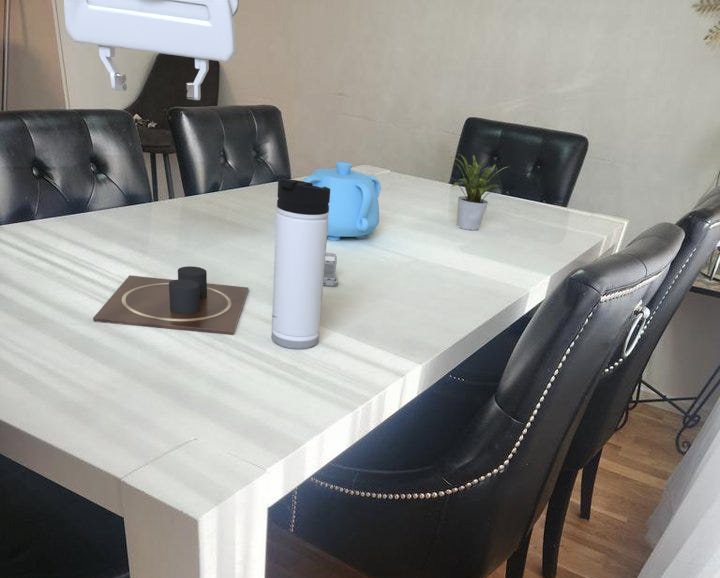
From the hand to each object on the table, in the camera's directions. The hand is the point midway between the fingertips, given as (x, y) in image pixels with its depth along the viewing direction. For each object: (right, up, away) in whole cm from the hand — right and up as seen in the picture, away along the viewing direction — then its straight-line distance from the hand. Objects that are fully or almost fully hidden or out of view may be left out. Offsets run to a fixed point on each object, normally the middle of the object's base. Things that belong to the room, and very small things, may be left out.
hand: (156, 94), depth 83 cm
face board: (0, -25, +9) cm, 26 cm away
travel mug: (+17, -31, +3) cm, 36 cm away
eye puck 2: (+2, -26, +6) cm, 27 cm away
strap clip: (+21, -16, +26) cm, 37 cm away
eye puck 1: (+2, -23, +11) cm, 25 cm away
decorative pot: (+22, +2, +52) cm, 56 cm away
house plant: (+51, +11, +71) cm, 88 cm away
